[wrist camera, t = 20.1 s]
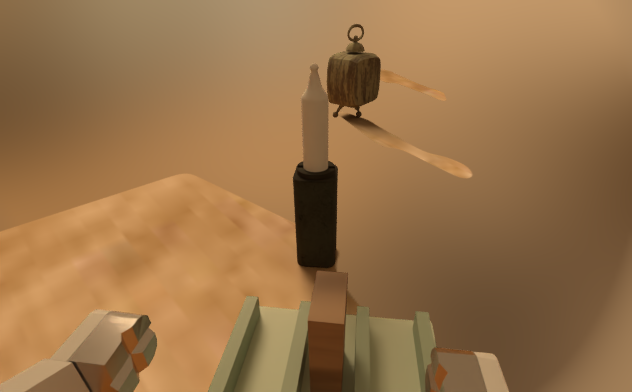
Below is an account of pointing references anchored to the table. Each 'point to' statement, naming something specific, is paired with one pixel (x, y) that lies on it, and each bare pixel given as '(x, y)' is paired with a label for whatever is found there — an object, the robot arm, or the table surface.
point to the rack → (293, 352)
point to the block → (327, 331)
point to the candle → (315, 182)
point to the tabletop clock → (353, 76)
